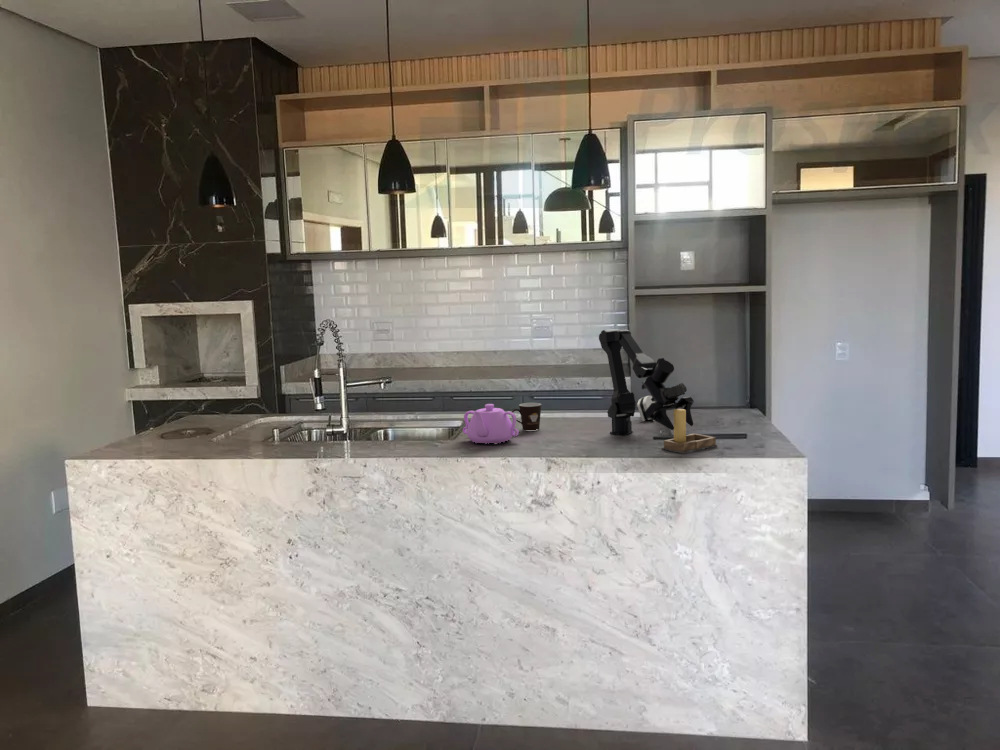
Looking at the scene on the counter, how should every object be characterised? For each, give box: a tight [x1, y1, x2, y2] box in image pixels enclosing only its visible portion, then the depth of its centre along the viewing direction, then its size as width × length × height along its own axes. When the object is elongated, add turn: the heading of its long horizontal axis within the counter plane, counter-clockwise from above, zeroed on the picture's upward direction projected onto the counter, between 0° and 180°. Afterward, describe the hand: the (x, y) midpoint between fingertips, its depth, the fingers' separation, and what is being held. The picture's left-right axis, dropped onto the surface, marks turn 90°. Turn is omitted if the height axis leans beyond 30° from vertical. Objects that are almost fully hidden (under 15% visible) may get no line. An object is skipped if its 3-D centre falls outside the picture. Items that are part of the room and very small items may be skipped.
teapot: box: [462, 403, 520, 445], centre depth 283 cm, size 22×22×14 cm
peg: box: [673, 409, 687, 443], centre depth 261 cm, size 4×4×13 cm
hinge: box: [636, 395, 656, 423], centre depth 318 cm, size 17×5×10 cm, turn 157°
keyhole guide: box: [660, 433, 718, 455], centre depth 264 cm, size 16×10×3 cm, turn 124°
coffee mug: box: [511, 402, 542, 430], centre depth 303 cm, size 12×9×10 cm
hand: (682, 427), depth 260 cm, fingers open, 9 cm apart
